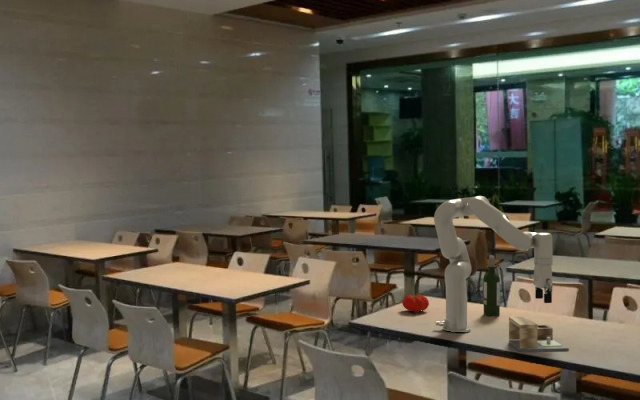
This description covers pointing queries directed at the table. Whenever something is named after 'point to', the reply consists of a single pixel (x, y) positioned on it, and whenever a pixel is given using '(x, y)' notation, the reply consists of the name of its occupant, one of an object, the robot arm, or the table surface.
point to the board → (541, 345)
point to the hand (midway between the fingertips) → (543, 300)
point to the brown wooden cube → (544, 332)
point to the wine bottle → (491, 290)
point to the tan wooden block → (523, 331)
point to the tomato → (415, 302)
